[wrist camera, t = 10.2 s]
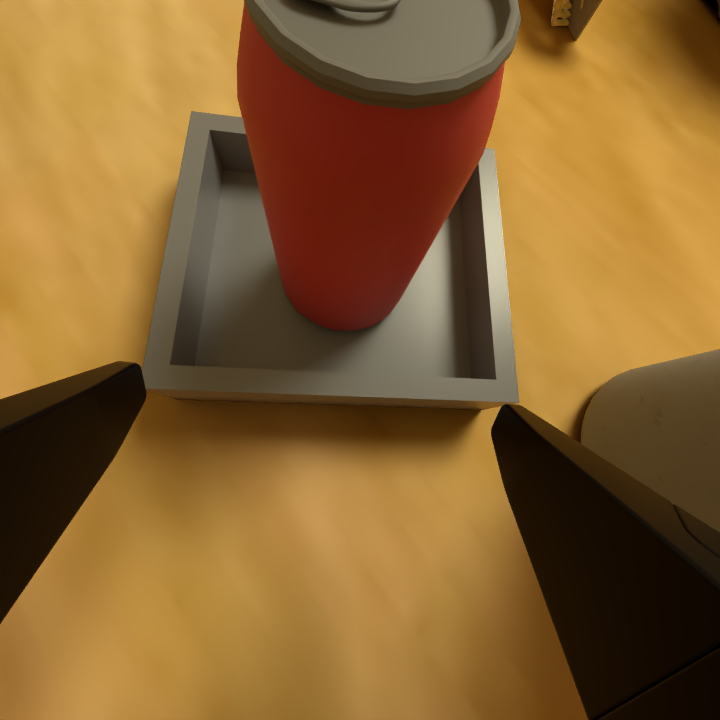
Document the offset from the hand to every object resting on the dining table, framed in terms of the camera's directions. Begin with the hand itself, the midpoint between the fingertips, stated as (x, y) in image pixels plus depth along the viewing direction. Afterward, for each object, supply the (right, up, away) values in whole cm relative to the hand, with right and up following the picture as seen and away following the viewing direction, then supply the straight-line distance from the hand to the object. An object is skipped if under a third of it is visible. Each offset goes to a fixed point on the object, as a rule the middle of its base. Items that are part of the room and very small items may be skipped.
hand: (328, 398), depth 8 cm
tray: (0, +5, +11) cm, 12 cm away
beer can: (0, +5, +10) cm, 11 cm away
